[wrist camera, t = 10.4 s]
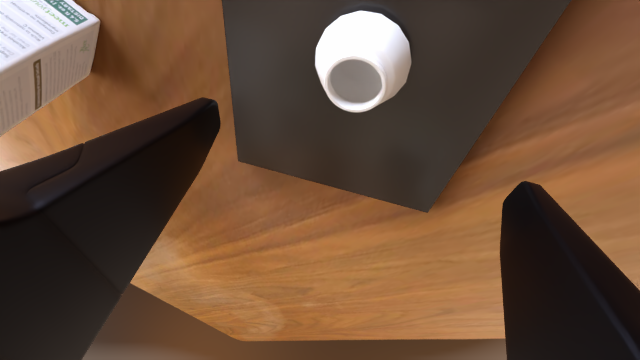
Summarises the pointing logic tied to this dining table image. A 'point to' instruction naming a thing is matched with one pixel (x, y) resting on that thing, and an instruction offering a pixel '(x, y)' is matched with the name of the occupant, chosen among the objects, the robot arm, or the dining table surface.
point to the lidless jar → (362, 60)
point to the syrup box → (41, 54)
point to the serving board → (393, 114)
